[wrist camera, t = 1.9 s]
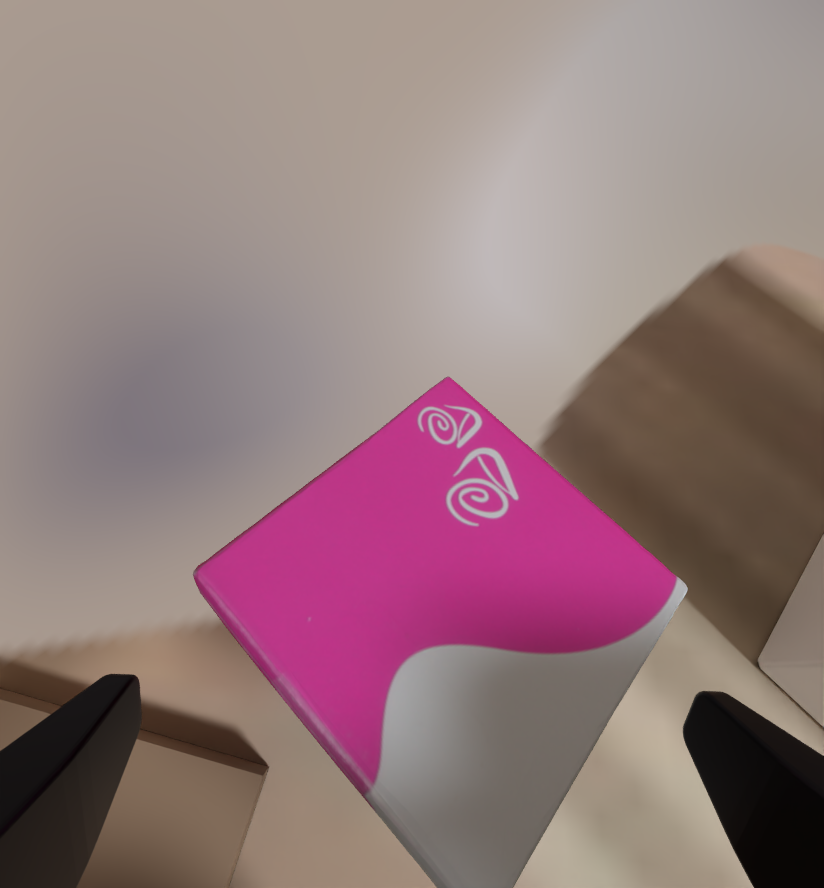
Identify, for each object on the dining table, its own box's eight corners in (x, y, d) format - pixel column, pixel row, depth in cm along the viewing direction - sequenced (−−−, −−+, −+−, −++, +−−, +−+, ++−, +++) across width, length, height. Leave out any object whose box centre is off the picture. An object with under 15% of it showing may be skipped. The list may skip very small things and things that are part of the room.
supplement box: (491, 641, 17) (711, 593, 7) (378, 779, 15) (474, 994, 5) (387, 531, 19) (450, 362, 9) (266, 641, 16) (158, 586, 6)
